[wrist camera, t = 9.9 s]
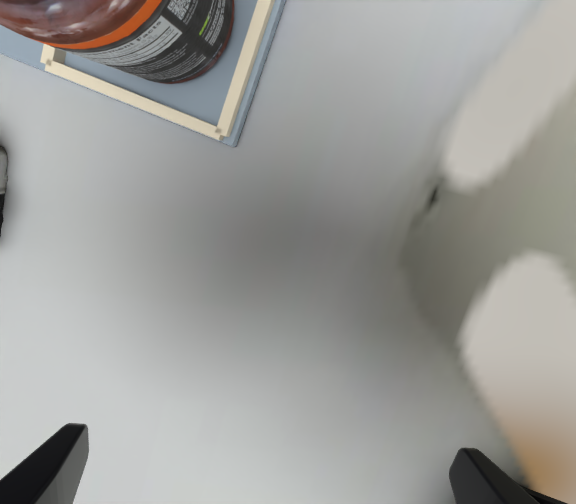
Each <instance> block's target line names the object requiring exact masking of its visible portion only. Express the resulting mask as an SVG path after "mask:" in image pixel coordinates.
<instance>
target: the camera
mask: <svg viewBox="0 0 576 504" xmlns="http://www.w3.org/2000/svg"><path fill="white" fill-rule="evenodd" d="M7 162H8V159H7V154H6V152H5V150H4V149H3V147H1V146H0V234H1V227H2V222H3V214H2V212H3V205H4V195H5V192H6V183H7V181H8V176H7V173H6V170H7ZM0 236H1V235H0Z"/></svg>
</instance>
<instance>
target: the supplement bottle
mask: <svg viewBox="0 0 576 504" xmlns="http://www.w3.org/2000/svg"><path fill="white" fill-rule="evenodd" d="M233 22H234V0H0V25H2V26H4V27H6V28H8V29H10V30H12V31H14V32H16V33H18V34H20V35H23V36H25V37H27V38H30V39H33V40H35V41H38V42H41V43H44V44H46V45H49V46H51V47H54V48H57V49H60V50H63V51H66V52H68V53H71V54H74V55H77V56H80V57H83V58H86V59H88V60H91V61H94V62H97V63H100V64H103V65H105V66H108V67H111V68H114V69H117V70H119V71H122V72H125V73H128V74H131V75H133V76H136V77H139V78H142V79H146V80H148V81H153V82H158V83H163V84H175V83H182V82H186V81H189V80H192V79H194V78H196V77H198V76H200V75H202V74H203V73H205V72H206V71H208V70H209V69H210V68H211V67H212V66H213V65H214V64H215V63H216V62H217V60H218V58H219V57H220V56H221V55H222V53H223V51H224V50H225V48H226V46H227V43H228V41H229V38H230V36H231V32H232V27H233Z"/></svg>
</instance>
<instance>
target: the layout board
mask: <svg viewBox="0 0 576 504" xmlns="http://www.w3.org/2000/svg"><path fill="white" fill-rule="evenodd" d="M285 2H286V0H234V22H233V27H232V32H231V36H230V38H229V41H228V43H227V46H226V48H225V50H224V51H223V53H222V55H221V56H220V57H219V58H218V60H217V62H216V63H215V64H214V65H213V66H212V67H211V68H210V69H209V70H208V71H206V72H205V73H203V74H202V75H200V76H198V77H196V78H194V79H192V80H189V81H186V82H182V83H175V84H163V83H158V82H153V81H148V80H146V79H142V78H139V77H136V76H133V75H131V74H128V73H125V72H122V71H119V70H117V69H114V68H111V67H108V66H105V65H103V64H100V63H97V62H94V61H91V60H88V59H86V58H83V57H80V56H77V55H74V54H71V53H68V52H66V51H63V50H60V49H57V48H54V47H51V46H49V45H46V44H44V43H41V42H38V41H35V40H33V39H30V38H27V37H25V36H23V35H20V34H18V33H16V32H14V31H12V30H10V29H8V28H6V27H4V26H2V25H0V54H3V55H5V56H8V57H10V58H13V59H15V60H18V61H20V62H23V63H25V64H28V65H30V66H33V67H35V68H38V69H40V70H43V71H45V72H48V73H50V74H53V75H55V76H58V77H60V78H63V79H65V80H67V81H70V82H72V83H75V84H77V85H80V86H82V87H85V88H87V89H90V90H92V91H95V92H97V93H100V94H102V95H105V96H107V97H110V98H112V99H115V100H117V101H120V102H122V103H125V104H127V105H130V106H132V107H135V108H137V109H140V110H142V111H145V112H147V113H150V114H152V115H155V116H157V117H160V118H162V119H165V120H167V121H170V122H172V123H175V124H177V125H180V126H182V127H184V128H187V129H189V130H192V131H194V132H197V133H199V134H202V135H204V136H207V137H209V138H212V139H214V140H217V141H219V142H222V143H224V144H227V145H229V146H232V147H236V145H237V143H238V140H239V137H240V134H241V131H242V128H243V125H244V122H245V119H246V116H247V113H248V110H249V107H250V104H251V101H252V98H253V96H254V93H255V90H256V87H257V84H258V81H259V78H260V75H261V72H262V69H263V66H264V63H265V60H266V57H267V54H268V52H269V49H270V46H271V43H272V40H273V37H274V34H275V31H276V28H277V25H278V22H279V19H280V16H281V13H282V10H283V7H284V5H285Z"/></svg>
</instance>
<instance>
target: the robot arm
mask: <svg viewBox="0 0 576 504" xmlns="http://www.w3.org/2000/svg"><path fill="white" fill-rule="evenodd" d="M88 453H89V442H88V427H87V425H86V424H77V423H68V424H66V425H64V426H63V427H62V428H61V429H60V430H59V431H57V432H56V433H55V434H54V435H53V436H51V437H50V438H49V439H48V440H47V441H46V442H44V443H43V444H42V445H41V446H40V447H39V448H37V449H36V450H35V451H34V452H33V453H31V454H30V455H29V456H28V457H27V458H26V459H24V460H23V461H22V462H21V463H20V464H19V465H17V466H16V467H15V468H14V469H13V470H12V471H10V472H9V473H8V474H7V475H6V476H4V477H3V478H2V479H1V480H0V504H73V501H74V498H75V495H76V492H77V489H78V486H79V483H80V480H81V477H82V474H83V471H84V468H85V465H86V462H87V458H88ZM449 478H450V482H451V486H452V489H453V493H454V497H455V500H456V504H567V503H564V502H561V501H559V500H556V499H554V498H551V497H548V496H546V495H543V494H540V493H538V492H535V491H532V490H530V489H527V488H524V487H522V486H519V485H518V484H517V483H516V482H515V481H513V480H512V479H511V478H510V477H509V476H508V475H507V474H506V473H504V472H503V471H502V470H501V469H500V468H499V467H498V466H496V465H495V464H494V463H493V462H492V461H491V460H490V459H489V458H487V457H486V456H485V455H484V454H483V453H482V452H481V451H479V450H478V449H475V448H461V449H459V451H458V453H457V455H456V457H455V459H454V461H453V463H452V465H451V467H450V471H449Z"/></svg>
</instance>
